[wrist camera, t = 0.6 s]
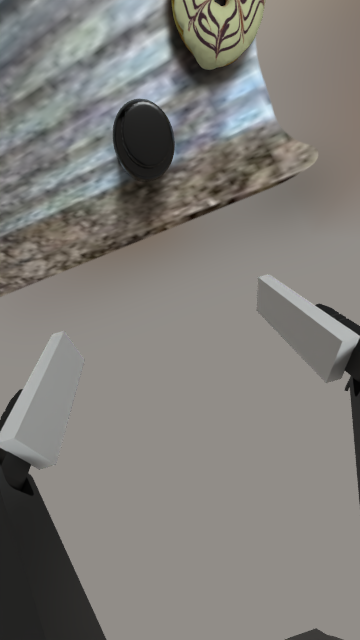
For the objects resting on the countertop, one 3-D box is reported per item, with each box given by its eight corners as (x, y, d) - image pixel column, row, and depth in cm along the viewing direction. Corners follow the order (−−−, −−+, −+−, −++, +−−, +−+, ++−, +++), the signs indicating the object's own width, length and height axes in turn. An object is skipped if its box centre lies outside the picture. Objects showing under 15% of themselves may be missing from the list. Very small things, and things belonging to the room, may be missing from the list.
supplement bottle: (139, 192, 31) (141, 194, 21) (106, 143, 28) (90, 120, 18) (174, 161, 30) (193, 149, 20) (145, 106, 26) (151, 59, 16)
